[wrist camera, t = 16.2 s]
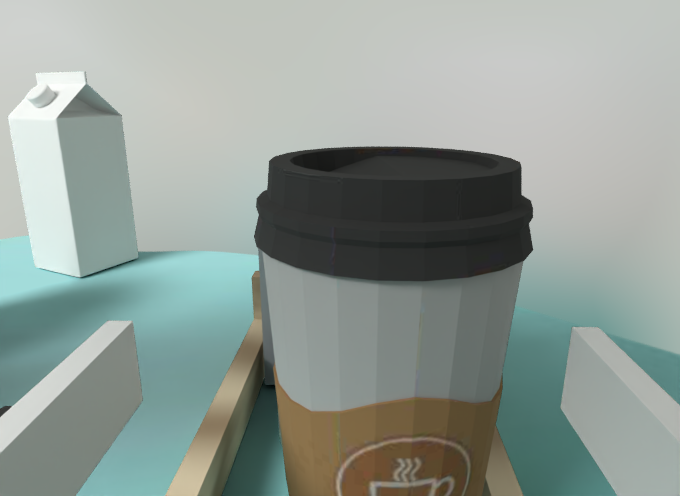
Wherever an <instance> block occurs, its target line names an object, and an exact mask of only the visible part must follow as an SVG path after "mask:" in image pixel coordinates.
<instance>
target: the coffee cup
mask: <svg viewBox="0 0 680 496" xmlns="http://www.w3.org/2000/svg"><path fill="white" fill-rule="evenodd" d="M256 208H257V210H258V213H259V217H258V222H257V226H256V231H255V235H254V238H255V242H256V245H257V247H258V248H259V249H260V250H262V252H263V260H264V269H265V278H266V287H267V296H268V304H269V313H270V322H271V331H272V340H273V349H274V357H275V364H274V367H273V370H274V379H275V387H276V396H277V404H278V413H279V421H280V430H281V438H282V447H283V455H284V464H285V472H286V480H287V486H288V491H289V496H482V492H483V487H484V482H485V476H486V471H487V466H488V461H489V456H490V451H491V445H492V440H493V435H494V430H495V425H496V420H497V414H498V409H499V404H500V399H501V394H502V371H503V366H504V361H505V355H506V350H507V345H508V339H509V334H510V329H511V323H512V318H513V313H514V308H515V302H516V297H517V292H518V286H519V281H520V276H521V270H522V265H523V261H524V260H525V259H526V258H527V257H528V255H529V254H530V253H531V252H532V251H533V247H532V241H531V234H530V229H529V222H530V221H531V219H532V218H533V207H532V204H531V201H530V200H529V199H527V198H525V197H524V196H522V195H521V164H520V162H518V161H516V160H513V159H511V158H507V157H503V156H499V155H494V154H487V153H481V152H473V151H464V150H453V149H438V148H422V147H343V148H324V149H315V150H304V151H297V152H291V153H286V154H283V155H279V156H275V157H274V158H272V159H271V160H270V161H269V173H268V188H267V190H266V191H264V192H262V193H261V194H260V196H259V197H258V198H257V204H256Z"/></svg>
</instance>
